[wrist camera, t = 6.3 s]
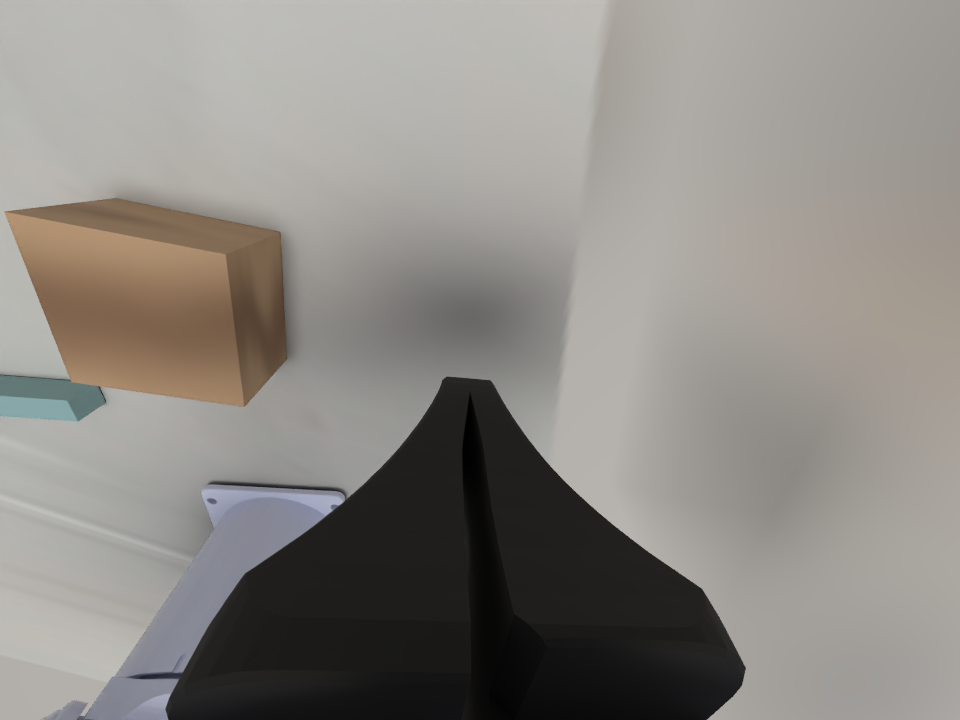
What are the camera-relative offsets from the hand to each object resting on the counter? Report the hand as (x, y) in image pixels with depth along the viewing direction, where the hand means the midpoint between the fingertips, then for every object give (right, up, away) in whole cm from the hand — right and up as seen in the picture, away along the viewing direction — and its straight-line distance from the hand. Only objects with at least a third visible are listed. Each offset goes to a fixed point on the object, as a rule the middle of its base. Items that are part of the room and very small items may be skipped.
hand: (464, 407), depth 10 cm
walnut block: (-11, +5, +6) cm, 13 cm away
